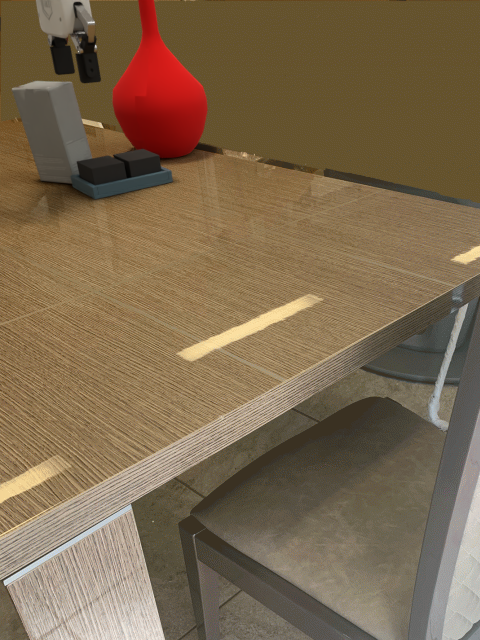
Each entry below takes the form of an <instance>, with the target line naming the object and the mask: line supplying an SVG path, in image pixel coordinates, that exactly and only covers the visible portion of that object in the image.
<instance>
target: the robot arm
mask: <svg viewBox="0 0 480 640" xmlns="http://www.w3.org/2000/svg"><path fill="white" fill-rule="evenodd" d="M35 5H36V10H37V16H38V22H39V27H40V29H41V30H42V32H43V33H44V34H46V35H47V43H48V45H49V50H50V55H51V61H52V64H53V70H54V73H55V74H56V75H58V76H62V75H63V76H65V75H74V74H75V73H76V68H75V63H74V57H73V53H72V47H71V45H68V42H69V36H70V38H71V40H72V43H73V45H74V47H75V49H76V51H77V53H75V60H76V65H77V71H78V77H79V81H80V83H82V84H93V83H100V82H101V81H102V78H101V73H100V72H101V71H100V70H101V69H100V65H99V59H98V47H97V40H98V38H97V36H96V20H95V19H94V18H93V15H92V14H93V13H92V9H91V3H90V0H35Z"/></svg>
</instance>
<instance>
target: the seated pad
mask: <svg viewBox="0 0 480 640" xmlns="http://www.w3.org/2000/svg"><path fill="white" fill-rule="evenodd" d="M112 157H113V158H115V159H118V160H120V161H122V162H124V166H125V171H126V177H127V179H128V178H133V177H137V176H142V175H147V174H151V173H156V172H161V171H162V170H161V166H162V164H161V158H160V157H159V155H157V154H155V153H152V152H150V151H147V150H145V149H140V150H137V149H135V150H130V151H129V150H128V151H123V152H120V153H114V154H112Z"/></svg>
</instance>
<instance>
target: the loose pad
mask: <svg viewBox="0 0 480 640" xmlns="http://www.w3.org/2000/svg"><path fill="white" fill-rule="evenodd" d="M77 166H78V171H79V175H80V178H81V179H83V180H85V181H87V182H89V183H91V184H93V185H95V186H96V185H100V184H105V183H109V182H114V181H119V180H123V179H127V177H126V171H125V166H124V162H122V161H120V160H118V159H115V158H114V156H111V155H103V156H98V157H92V159H87V160H81V161H77Z"/></svg>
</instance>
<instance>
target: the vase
mask: <svg viewBox="0 0 480 640" xmlns="http://www.w3.org/2000/svg"><path fill="white" fill-rule="evenodd" d="M137 2H138V11H139V17H140V25H141V31H142V32H141V40H140V43H139V46H138V48H137V50H136V51H135V53H134V55H133V57H132V59H131V61H130V62H129V64H128V65H127V68H126V69H125V71H124V72H123V74H122V75H121V76H120V78H119V80H118V81H117V82H116V84H115V85H114V87H113V89H112V101H111V102H112V107H113V113H114V116H115V119H116V121H117V122H118V124H119V126H120V128H121V131H122V133H123V134H124V137H126V139H127V140H128V141H129V143H130V144H131V145H132V147H133V148H134V149H135V150H140V149H145V150H147V151H150V152H152V153H155V154H157V155H159V157H160V159H175V158H180V157H185V156H187V155H189V154H190V153H192V152H193V151H194V149H195V148H196V147H197V146H198V144H199V142H200V139H201V138H202V136H203V134H204V131H205V125H206V120H207V117H208V116H207V115H208V111H209V110H208V97H207V95H206V91H205V89H204V86H203V85H202V84H201V82H199V80H198V79H197V78H195V77H194V75H193V74H192V73H191V72H189V70H188V69H187V68H186V67H185V66H184V65H183V64H182V62H180V60H178V58H177V57H176V56H175V55H174V54H173V53H172V51H170V49H169V48H168V47H167V45H166V44H165V42H164V41H163V39H162V37H161V34H160V31H159V24H158V17H157V11H156V4H155V0H137Z"/></svg>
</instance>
